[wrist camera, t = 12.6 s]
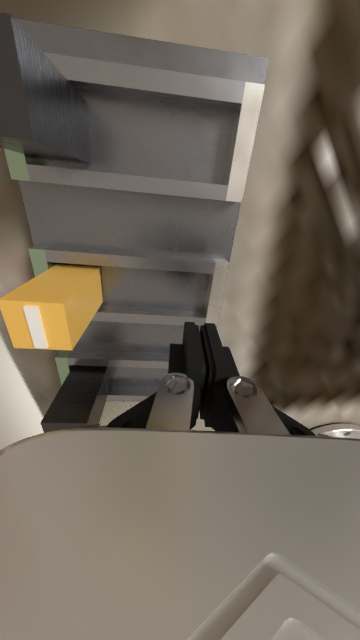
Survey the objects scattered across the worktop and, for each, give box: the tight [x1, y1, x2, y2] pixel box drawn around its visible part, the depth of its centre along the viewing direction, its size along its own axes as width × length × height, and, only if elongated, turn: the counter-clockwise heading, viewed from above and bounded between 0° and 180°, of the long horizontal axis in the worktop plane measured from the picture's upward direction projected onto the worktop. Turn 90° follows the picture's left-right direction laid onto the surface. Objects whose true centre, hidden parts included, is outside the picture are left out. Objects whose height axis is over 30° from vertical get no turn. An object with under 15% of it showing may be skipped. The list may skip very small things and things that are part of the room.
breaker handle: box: [0, 264, 103, 350], centre depth 14 cm, size 3×3×6 cm
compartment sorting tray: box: [0, 13, 269, 433], centre depth 15 cm, size 26×14×8 cm, turn 175°
